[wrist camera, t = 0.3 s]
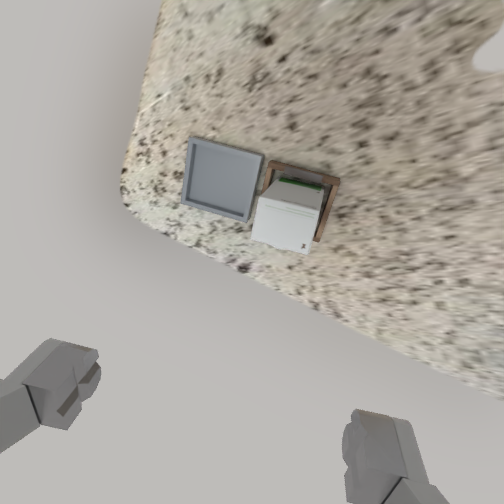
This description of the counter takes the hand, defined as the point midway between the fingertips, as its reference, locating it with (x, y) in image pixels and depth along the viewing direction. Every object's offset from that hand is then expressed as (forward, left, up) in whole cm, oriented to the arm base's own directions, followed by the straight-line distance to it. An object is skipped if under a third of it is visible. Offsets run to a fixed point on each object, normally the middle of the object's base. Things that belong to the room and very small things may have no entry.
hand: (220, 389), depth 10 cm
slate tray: (+5, -14, -46) cm, 49 cm away
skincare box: (+5, -1, -47) cm, 47 cm away
